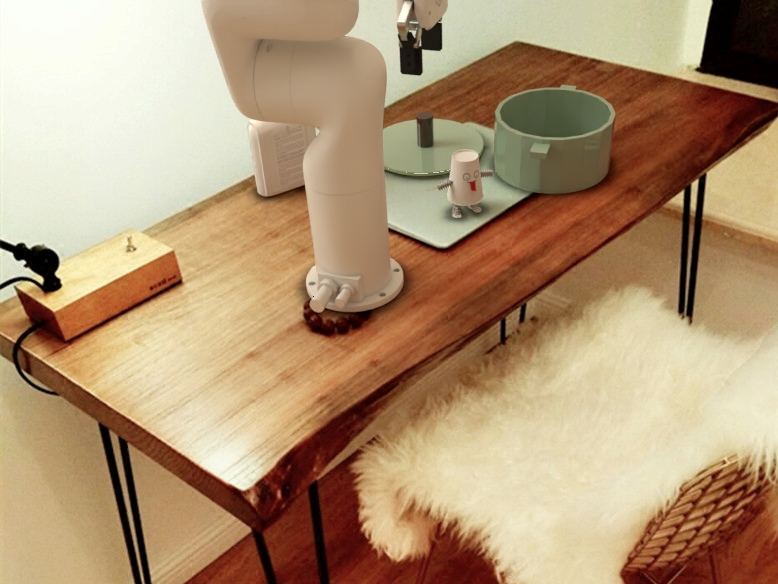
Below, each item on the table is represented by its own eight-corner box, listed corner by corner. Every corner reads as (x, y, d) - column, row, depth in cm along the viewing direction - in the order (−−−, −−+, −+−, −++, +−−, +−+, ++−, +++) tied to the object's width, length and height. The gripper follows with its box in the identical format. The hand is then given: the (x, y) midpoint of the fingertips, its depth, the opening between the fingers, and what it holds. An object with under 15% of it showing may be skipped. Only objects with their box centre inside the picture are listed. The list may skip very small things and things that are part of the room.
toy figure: (437, 231, 126) (435, 175, 120) (419, 212, 130) (417, 158, 124) (512, 209, 130) (514, 154, 124) (493, 191, 133) (494, 137, 128)
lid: (496, 131, 148) (496, 95, 144) (466, 185, 135) (466, 148, 131) (390, 120, 153) (388, 85, 148) (351, 172, 140) (348, 135, 136)
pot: (619, 137, 144) (625, 85, 138) (595, 209, 128) (601, 154, 123) (513, 126, 149) (514, 76, 143) (477, 195, 133) (477, 141, 127)
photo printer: (311, 169, 141) (302, 92, 133) (325, 179, 139) (316, 101, 130) (252, 190, 137) (238, 112, 129) (265, 201, 135) (252, 122, 126)
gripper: (426, -46, 115) (428, 86, 126) (462, -81, 128) (462, 43, 139) (370, -49, 117) (378, 82, 128) (411, -83, 130) (415, 39, 141)
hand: (421, 61), depth 134 cm, fingers open, 9 cm apart
